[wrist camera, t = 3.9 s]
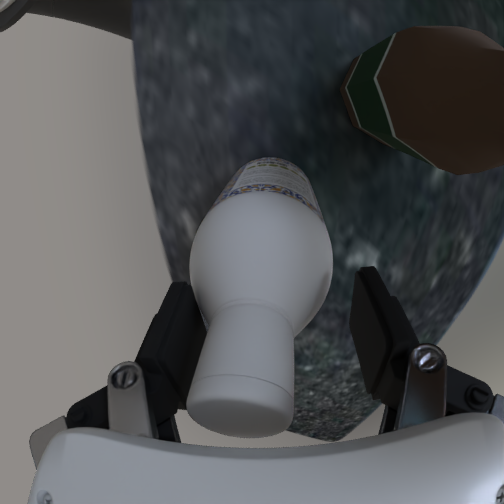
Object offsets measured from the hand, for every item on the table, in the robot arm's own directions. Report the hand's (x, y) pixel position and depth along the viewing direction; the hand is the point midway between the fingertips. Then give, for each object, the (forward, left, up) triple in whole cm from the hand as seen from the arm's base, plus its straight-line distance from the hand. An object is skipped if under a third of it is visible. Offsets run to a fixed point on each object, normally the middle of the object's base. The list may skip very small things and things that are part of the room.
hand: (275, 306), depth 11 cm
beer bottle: (+10, +8, -15) cm, 20 cm away
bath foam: (0, 0, -15) cm, 15 cm away
